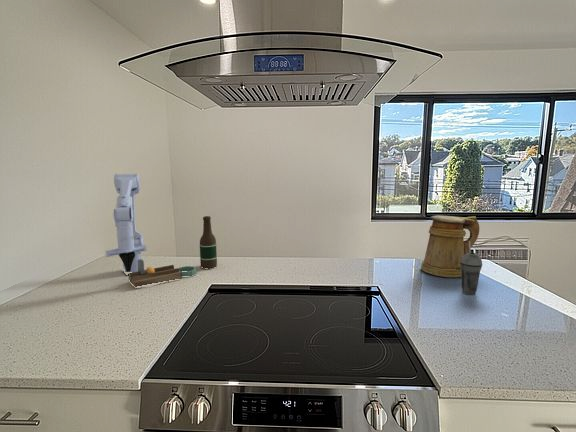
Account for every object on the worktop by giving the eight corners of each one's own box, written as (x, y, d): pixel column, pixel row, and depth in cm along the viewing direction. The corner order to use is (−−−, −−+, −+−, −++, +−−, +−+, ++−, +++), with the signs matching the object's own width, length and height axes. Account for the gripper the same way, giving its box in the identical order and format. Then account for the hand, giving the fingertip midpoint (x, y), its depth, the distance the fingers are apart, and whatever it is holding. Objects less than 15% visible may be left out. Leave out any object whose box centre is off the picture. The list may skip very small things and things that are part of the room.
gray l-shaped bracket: (138, 275, 143) (137, 259, 142) (143, 274, 144) (142, 258, 143) (141, 277, 140) (139, 261, 139) (146, 276, 141) (144, 261, 140)
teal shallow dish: (173, 274, 154) (173, 268, 154) (191, 270, 159) (191, 265, 159) (180, 279, 148) (180, 273, 148) (199, 275, 153) (198, 269, 153)
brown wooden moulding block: (129, 282, 144) (128, 272, 143) (172, 273, 155) (171, 263, 154) (135, 289, 136) (134, 278, 136) (180, 279, 147) (180, 269, 146)
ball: (144, 274, 144) (144, 266, 144) (153, 273, 147) (152, 265, 146) (147, 277, 142) (146, 268, 141) (156, 275, 144) (155, 267, 143)
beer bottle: (197, 268, 162) (194, 217, 158) (205, 263, 169) (203, 214, 165) (212, 270, 160) (210, 218, 156) (220, 265, 167) (218, 215, 163)
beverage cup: (482, 297, 126) (487, 243, 123) (460, 296, 128) (465, 243, 125) (476, 290, 133) (480, 239, 130) (455, 289, 135) (459, 238, 132)
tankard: (414, 265, 165) (417, 213, 161) (464, 265, 165) (468, 212, 161) (430, 278, 147) (434, 220, 143) (486, 278, 147) (491, 219, 143)
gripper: (107, 242, 129) (110, 277, 131) (147, 236, 138) (150, 270, 140) (103, 238, 134) (106, 272, 137) (142, 233, 143) (145, 265, 145)
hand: (128, 271), depth 139 cm, fingers closed
